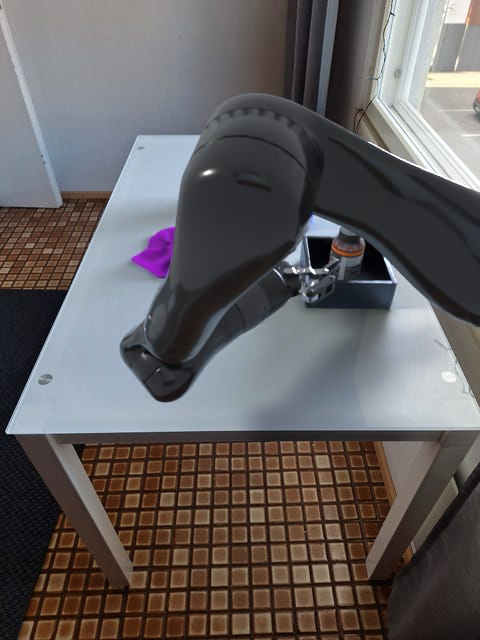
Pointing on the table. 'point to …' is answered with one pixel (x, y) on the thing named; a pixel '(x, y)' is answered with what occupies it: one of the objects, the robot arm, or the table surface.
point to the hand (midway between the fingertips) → (315, 253)
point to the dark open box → (351, 294)
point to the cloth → (157, 253)
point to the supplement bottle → (347, 254)
